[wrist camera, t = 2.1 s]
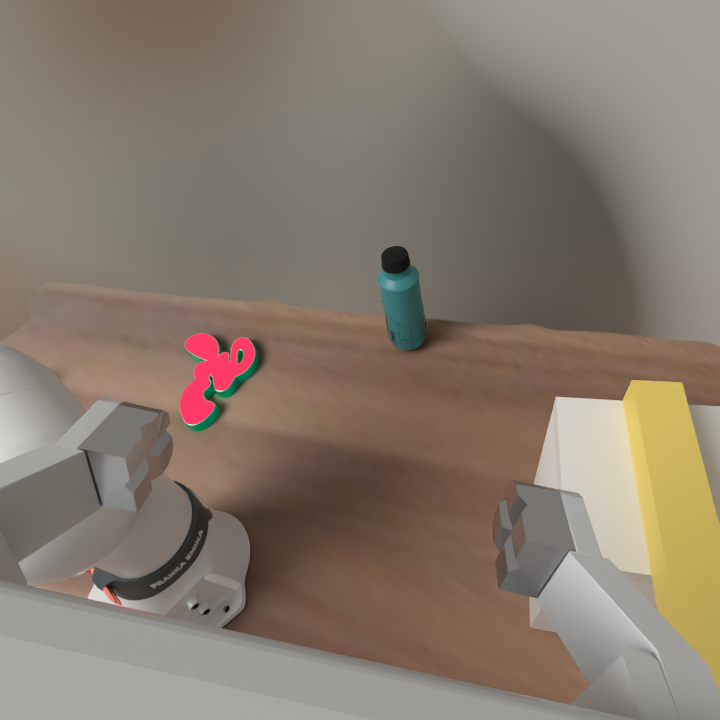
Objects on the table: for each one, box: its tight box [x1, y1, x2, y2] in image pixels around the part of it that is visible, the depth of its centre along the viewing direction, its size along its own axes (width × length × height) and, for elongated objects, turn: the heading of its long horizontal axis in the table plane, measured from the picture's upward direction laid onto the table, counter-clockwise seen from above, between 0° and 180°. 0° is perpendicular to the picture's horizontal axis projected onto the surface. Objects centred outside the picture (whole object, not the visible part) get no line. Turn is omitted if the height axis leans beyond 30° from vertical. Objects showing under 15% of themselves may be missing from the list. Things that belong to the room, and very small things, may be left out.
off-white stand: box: [529, 397, 720, 633], centre depth 45 cm, size 14×14×26 cm
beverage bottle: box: [378, 246, 427, 350], centre depth 74 cm, size 6×7×20 cm
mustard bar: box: [623, 380, 720, 692], centre depth 31 cm, size 22×4×3 cm, turn 169°
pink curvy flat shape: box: [179, 333, 259, 431], centre depth 84 cm, size 20×16×2 cm
